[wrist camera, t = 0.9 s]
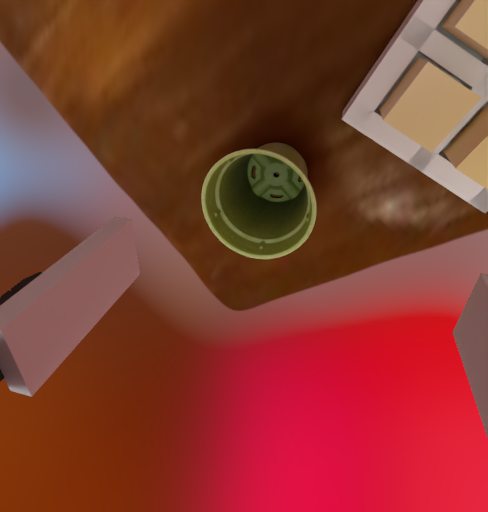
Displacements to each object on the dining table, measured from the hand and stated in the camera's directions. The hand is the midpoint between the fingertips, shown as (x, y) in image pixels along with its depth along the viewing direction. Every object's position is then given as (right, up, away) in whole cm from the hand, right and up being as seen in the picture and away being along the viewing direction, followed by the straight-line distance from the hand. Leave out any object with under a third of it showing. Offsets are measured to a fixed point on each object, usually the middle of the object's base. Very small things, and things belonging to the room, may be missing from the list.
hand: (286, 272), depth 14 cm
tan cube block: (+16, +9, +13) cm, 23 cm away
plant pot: (+2, +9, +22) cm, 24 cm away
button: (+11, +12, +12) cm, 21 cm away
